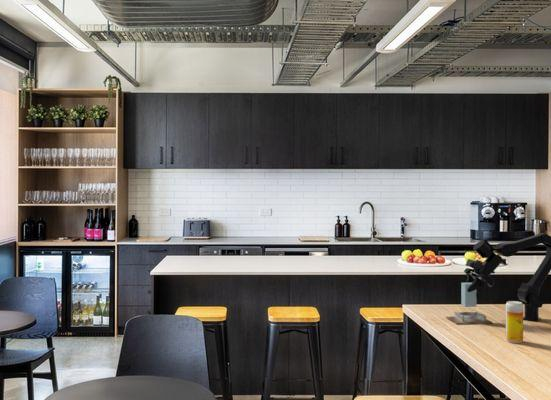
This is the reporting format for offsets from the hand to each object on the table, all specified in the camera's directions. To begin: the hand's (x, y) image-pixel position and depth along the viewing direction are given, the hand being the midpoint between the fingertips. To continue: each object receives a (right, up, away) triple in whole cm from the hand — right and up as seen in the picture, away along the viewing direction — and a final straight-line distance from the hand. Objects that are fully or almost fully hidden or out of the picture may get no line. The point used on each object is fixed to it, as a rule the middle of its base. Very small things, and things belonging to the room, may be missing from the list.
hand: (465, 290), depth 234 cm
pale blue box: (+1, -7, 0) cm, 7 cm away
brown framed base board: (+1, -13, 0) cm, 14 cm away
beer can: (+7, -14, -33) cm, 36 cm away
